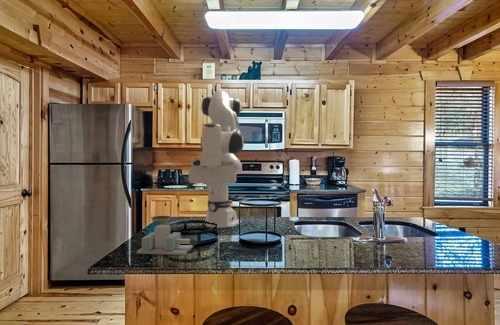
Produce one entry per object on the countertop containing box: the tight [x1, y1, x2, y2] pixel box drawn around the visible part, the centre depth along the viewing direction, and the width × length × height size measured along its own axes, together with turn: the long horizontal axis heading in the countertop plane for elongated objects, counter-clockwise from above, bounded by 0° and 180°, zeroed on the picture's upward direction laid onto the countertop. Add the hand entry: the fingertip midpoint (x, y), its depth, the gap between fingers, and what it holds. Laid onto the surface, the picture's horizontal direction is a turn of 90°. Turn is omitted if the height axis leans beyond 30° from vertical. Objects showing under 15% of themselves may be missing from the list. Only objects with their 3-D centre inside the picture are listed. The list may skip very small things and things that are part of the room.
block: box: [155, 224, 172, 249], centre depth 136 cm, size 5×5×9 cm
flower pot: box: [151, 215, 171, 226], centre depth 162 cm, size 9×9×9 cm
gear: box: [143, 222, 164, 237], centre depth 155 cm, size 11×6×10 cm
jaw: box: [165, 231, 198, 251], centre depth 135 cm, size 12×10×5 cm
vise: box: [136, 232, 194, 256], centre depth 136 cm, size 20×12×6 cm, turn 84°
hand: (212, 193), depth 138 cm, fingers closed
